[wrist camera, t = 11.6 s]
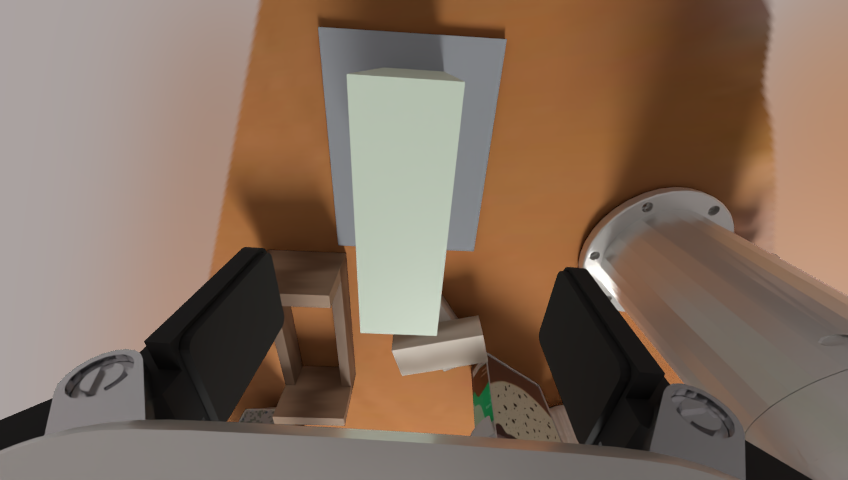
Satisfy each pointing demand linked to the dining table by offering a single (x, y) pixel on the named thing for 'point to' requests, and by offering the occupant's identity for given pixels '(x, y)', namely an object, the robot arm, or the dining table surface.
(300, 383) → the rack
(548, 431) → the food container
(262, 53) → the dining table surface
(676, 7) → the dining table surface
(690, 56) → the dining table surface
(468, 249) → the mat
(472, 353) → the upper offcut
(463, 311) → the dining table surface
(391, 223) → the sheet
